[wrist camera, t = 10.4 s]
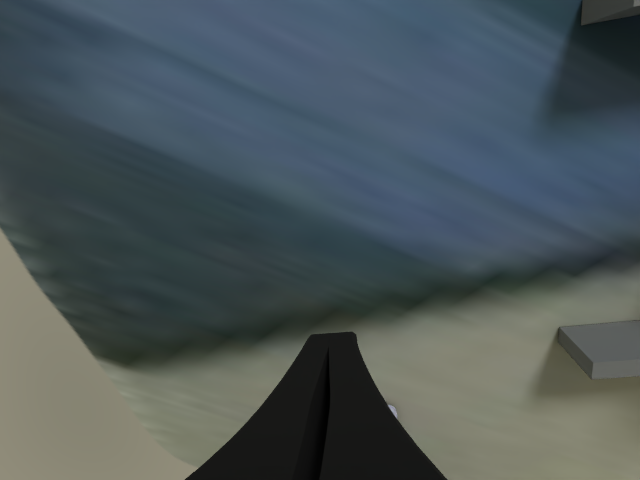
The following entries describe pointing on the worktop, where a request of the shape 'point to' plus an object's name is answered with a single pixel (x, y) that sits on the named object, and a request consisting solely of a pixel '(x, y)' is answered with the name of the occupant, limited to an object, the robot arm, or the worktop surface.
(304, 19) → the worktop surface
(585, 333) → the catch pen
